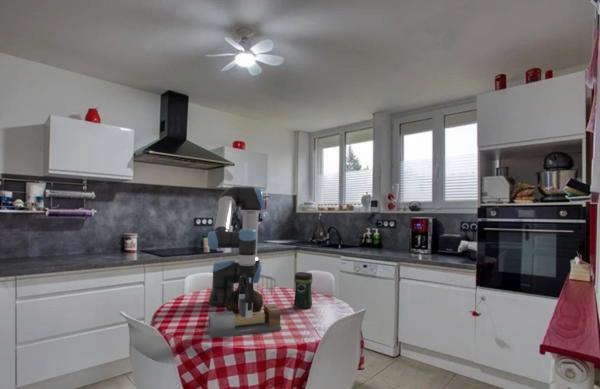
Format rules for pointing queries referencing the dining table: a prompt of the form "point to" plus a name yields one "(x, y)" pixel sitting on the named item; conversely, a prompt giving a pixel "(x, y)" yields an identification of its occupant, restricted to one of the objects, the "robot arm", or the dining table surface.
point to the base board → (245, 330)
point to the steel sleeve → (221, 321)
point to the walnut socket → (272, 315)
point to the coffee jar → (303, 290)
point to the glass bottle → (233, 298)
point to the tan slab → (241, 320)
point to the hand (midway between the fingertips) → (244, 313)
